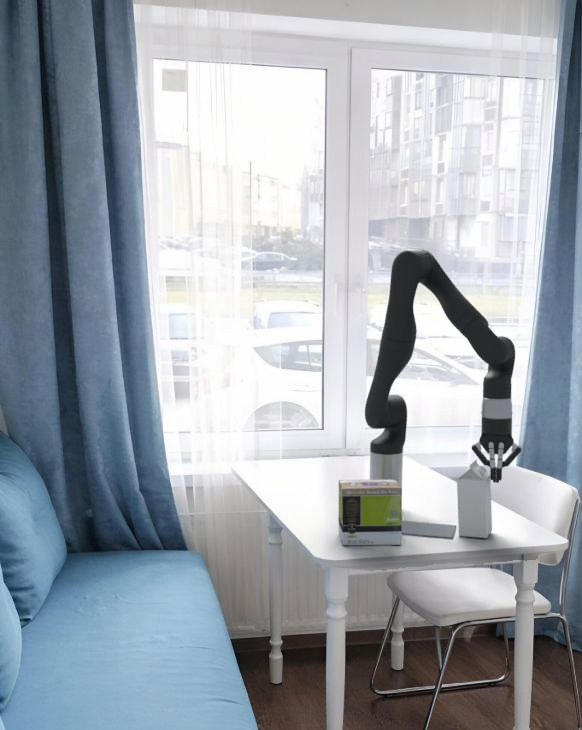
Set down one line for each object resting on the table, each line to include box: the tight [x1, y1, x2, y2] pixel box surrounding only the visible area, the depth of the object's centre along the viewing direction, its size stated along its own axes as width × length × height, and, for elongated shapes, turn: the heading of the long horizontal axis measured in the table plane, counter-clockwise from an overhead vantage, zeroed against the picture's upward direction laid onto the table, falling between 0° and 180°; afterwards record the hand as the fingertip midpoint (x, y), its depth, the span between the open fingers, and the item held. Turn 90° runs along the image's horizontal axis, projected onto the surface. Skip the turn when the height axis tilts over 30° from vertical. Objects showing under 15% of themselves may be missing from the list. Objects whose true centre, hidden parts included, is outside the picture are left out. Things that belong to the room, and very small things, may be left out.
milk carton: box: [456, 458, 493, 539], centre depth 214 cm, size 7×7×19 cm
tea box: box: [338, 479, 403, 546], centre depth 209 cm, size 15×10×15 cm
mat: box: [402, 520, 457, 540], centre depth 219 cm, size 11×19×1 cm, turn 75°
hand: (495, 481), depth 212 cm, fingers closed
